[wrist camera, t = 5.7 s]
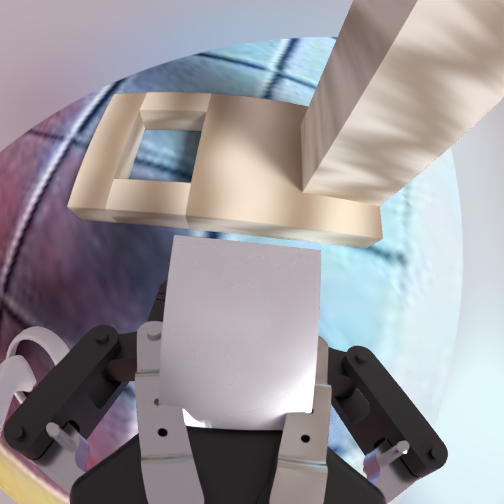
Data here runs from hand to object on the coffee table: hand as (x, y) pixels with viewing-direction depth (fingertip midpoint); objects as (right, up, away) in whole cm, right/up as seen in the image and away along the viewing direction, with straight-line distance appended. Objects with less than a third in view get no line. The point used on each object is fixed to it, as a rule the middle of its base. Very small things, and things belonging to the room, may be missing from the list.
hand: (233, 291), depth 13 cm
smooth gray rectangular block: (-1, -3, +4) cm, 5 cm away
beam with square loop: (-1, +9, +7) cm, 11 cm away
